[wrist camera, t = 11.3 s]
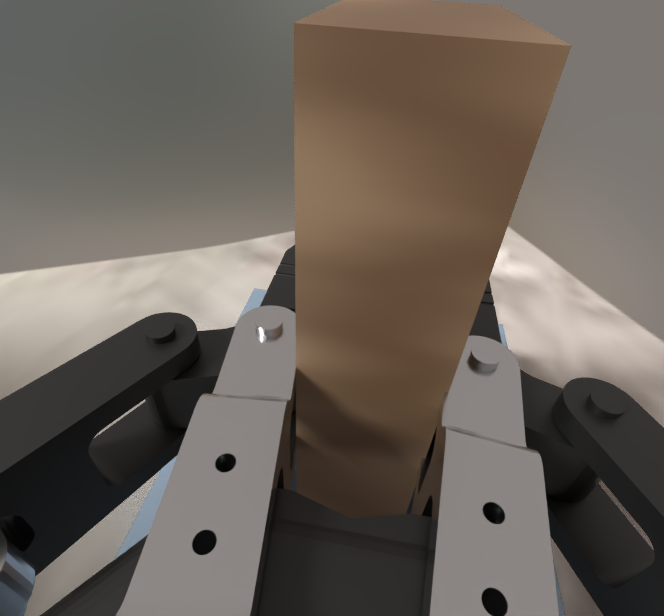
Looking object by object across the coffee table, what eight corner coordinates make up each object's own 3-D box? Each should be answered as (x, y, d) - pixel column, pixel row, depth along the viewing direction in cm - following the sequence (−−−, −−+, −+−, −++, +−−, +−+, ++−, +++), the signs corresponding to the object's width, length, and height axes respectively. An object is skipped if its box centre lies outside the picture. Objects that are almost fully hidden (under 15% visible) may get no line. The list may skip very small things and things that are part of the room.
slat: (296, 573, 13) (293, 24, 4) (323, 444, 16) (354, -6, 7) (378, 590, 13) (571, 45, 4) (388, 456, 16) (500, 5, 7)
